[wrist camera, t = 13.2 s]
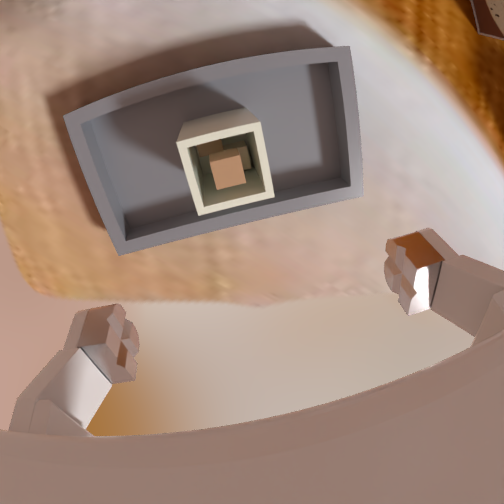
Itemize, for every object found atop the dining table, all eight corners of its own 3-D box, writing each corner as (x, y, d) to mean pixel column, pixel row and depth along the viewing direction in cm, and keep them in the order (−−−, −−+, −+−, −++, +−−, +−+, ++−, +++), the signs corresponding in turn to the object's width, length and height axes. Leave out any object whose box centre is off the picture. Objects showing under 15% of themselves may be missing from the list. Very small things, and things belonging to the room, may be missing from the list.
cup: (183, 122, 23) (175, 144, 17) (245, 107, 23) (261, 123, 17) (199, 178, 26) (198, 219, 20) (257, 164, 26) (276, 200, 20)
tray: (76, 109, 21) (62, 115, 19) (334, 47, 22) (349, 46, 19) (125, 238, 29) (118, 255, 26) (350, 183, 29) (363, 196, 27)
